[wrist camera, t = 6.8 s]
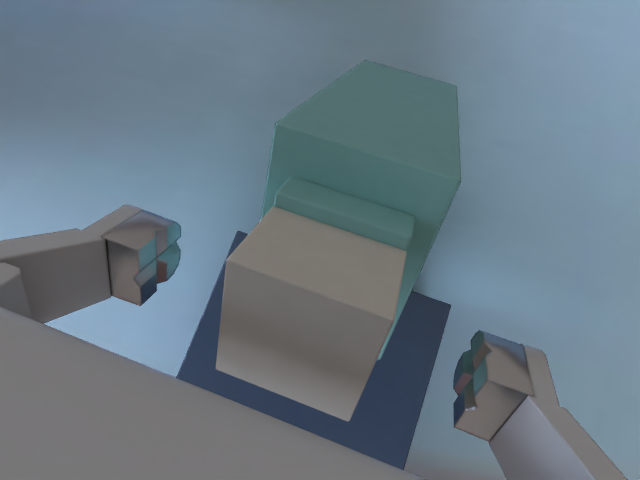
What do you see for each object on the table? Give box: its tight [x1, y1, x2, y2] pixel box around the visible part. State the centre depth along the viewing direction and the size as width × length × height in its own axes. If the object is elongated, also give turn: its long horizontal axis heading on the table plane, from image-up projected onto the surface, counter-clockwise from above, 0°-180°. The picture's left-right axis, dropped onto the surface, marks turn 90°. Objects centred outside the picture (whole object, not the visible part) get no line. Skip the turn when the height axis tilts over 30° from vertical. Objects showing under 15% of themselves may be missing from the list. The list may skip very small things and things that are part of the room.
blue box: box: [176, 231, 451, 470], centre depth 19 cm, size 13×10×6 cm
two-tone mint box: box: [216, 60, 461, 421], centre depth 17 cm, size 16×5×16 cm, turn 160°
